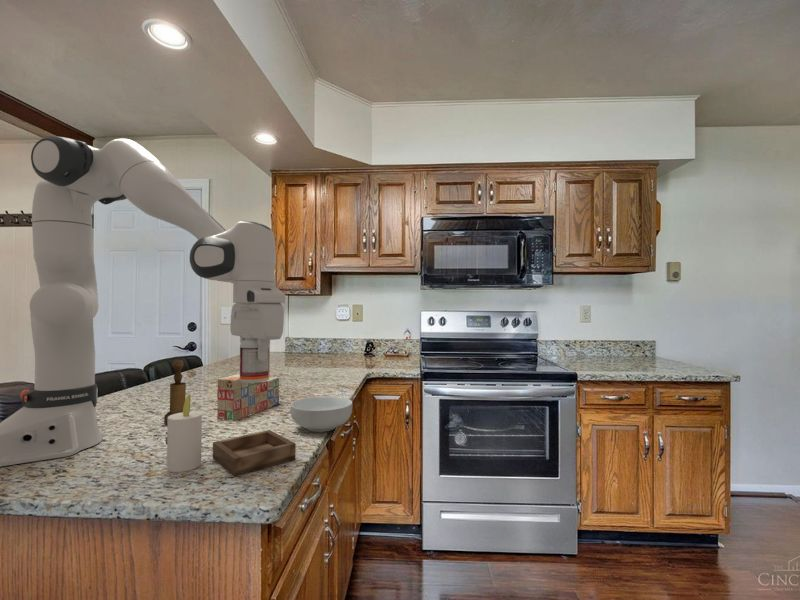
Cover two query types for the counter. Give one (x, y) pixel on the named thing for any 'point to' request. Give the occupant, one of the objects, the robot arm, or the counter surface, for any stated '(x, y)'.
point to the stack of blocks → (245, 397)
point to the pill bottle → (252, 361)
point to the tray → (253, 452)
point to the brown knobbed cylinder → (176, 391)
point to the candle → (184, 439)
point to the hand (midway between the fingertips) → (254, 358)
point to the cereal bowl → (321, 412)
